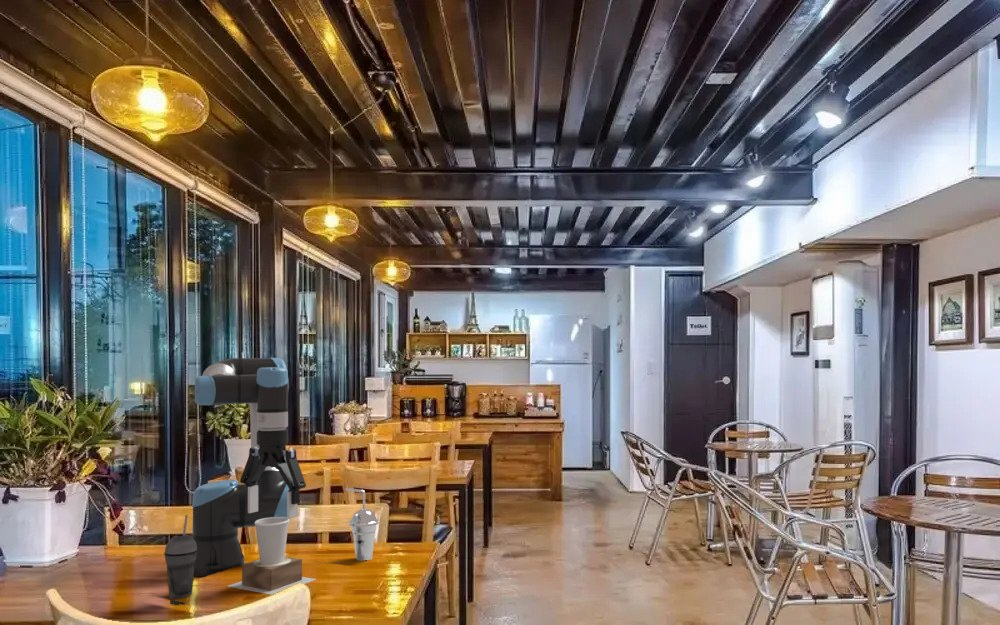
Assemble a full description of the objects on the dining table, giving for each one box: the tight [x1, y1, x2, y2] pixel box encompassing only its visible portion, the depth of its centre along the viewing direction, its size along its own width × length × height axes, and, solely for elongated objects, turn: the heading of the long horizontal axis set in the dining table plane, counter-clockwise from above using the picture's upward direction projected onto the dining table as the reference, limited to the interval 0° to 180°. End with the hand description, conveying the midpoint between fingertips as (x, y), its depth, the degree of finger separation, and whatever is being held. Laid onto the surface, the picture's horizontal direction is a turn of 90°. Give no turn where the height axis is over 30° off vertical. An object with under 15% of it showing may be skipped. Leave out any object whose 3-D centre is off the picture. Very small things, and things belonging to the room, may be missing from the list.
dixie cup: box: [254, 517, 291, 565], centre depth 184 cm, size 8×8×10 cm
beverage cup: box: [164, 514, 198, 606], centre depth 175 cm, size 7×7×20 cm
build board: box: [227, 576, 317, 596], centre depth 183 cm, size 16×14×2 cm
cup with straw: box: [344, 487, 380, 562], centre depth 210 cm, size 8×9×20 cm
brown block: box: [241, 556, 303, 591], centre depth 183 cm, size 10×10×5 cm
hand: (272, 514), depth 184 cm, fingers open, 13 cm apart
